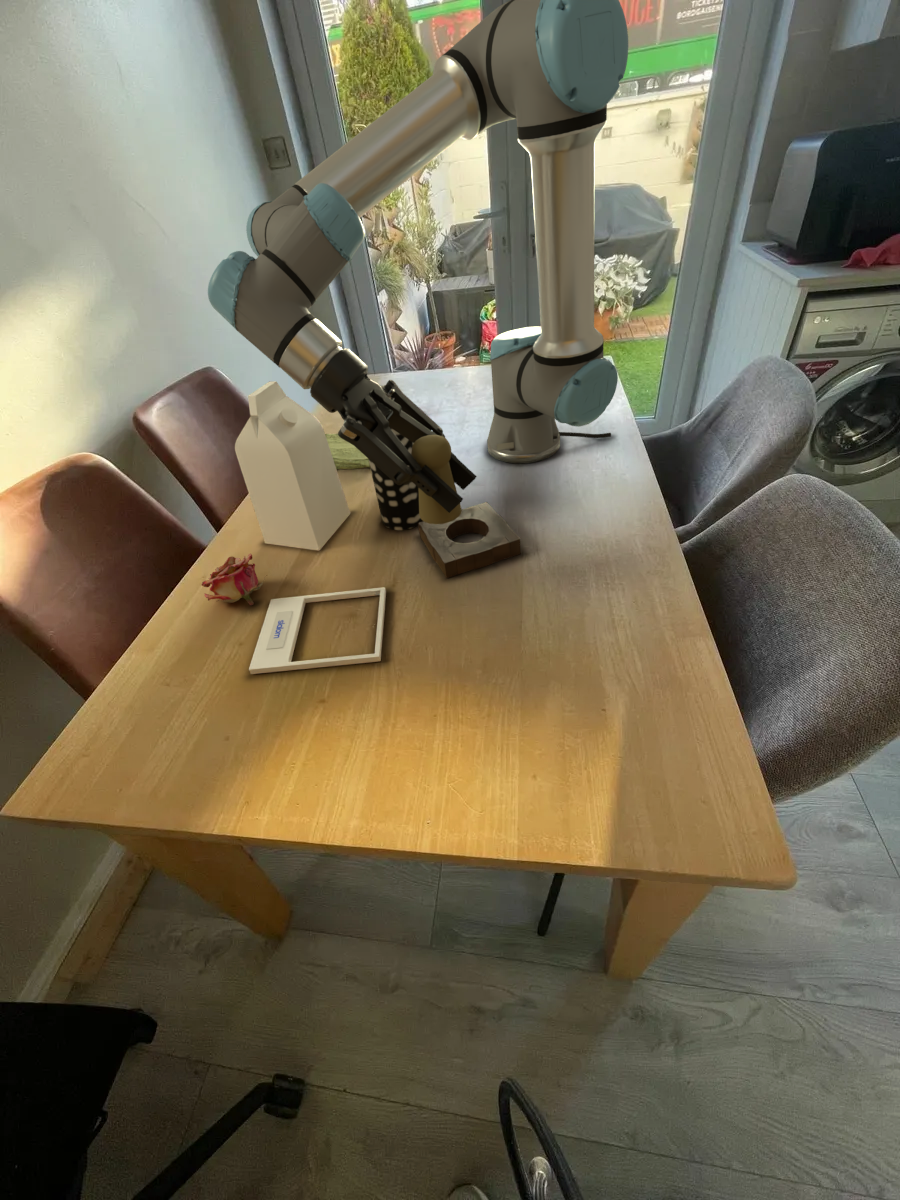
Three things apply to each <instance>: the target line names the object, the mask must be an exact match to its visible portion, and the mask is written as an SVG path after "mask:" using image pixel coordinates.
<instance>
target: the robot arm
mask: <svg viewBox="0 0 900 1200" xmlns="http://www.w3.org/2000/svg"><path fill="white" fill-rule="evenodd" d="M628 56H629V32H628V24H627V20H626V16H625V12H624V10H623V7H622V4H621V2H620V0H508V1H506V2H504V3H503V4H501V5H499V6H497V7H496V8H495V9H493V11H491V12H490V13H489V14H488V15H486V16H485V17H484V18H483V19H482V20H481V21H480V22H479V23H477V25H475V26H474V27H473V28H472V29H471V30H469V31H468V32H467V33H466V34H465V35H463V37H462V38H461V39H459V40H458V41H457V42H456V43H455V44H454V45H453V46H451V48H449V49H448V50H446V51H445V52H444V53H443V54H442V55H440V56H439V57H438V58H437V59H436V60H435V62H434V65H433V70H432V75H431V76H429V78H427V79H426V80H424V81H423V82H422V83H421V84H419V85H418V86H417V87H416V88H414V89H413V90H412V91H411V92H409V93H408V94H407V95H405V96H404V97H402V98H401V99H400V100H399V101H398V102H396V103H395V104H394V105H393V106H391V107H390V108H389V109H387V110H386V111H385V112H383V113H382V114H381V115H380V116H379V117H378V118H376V119H375V120H373V121H372V122H371V123H370V124H369V125H368V126H366V127H365V128H364V129H362V130H361V131H359V132H358V133H357V134H356V135H355V136H353V137H352V138H350V140H348V141H347V142H346V143H345V144H342V146H340V147H339V149H337V150H336V151H334V152H333V153H332V154H331V155H329V156H328V157H326V159H324V160H323V161H322V162H320V163H319V164H318V165H316V166H315V167H314V168H313V169H312V170H310V171H309V172H308V173H306V174H305V175H304V176H302V178H300V179H298V181H296V182H295V183H294V184H293V185H292V186H290V187H289V188H287V189H286V190H285V191H284V192H282V193H281V194H280V195H278V196H277V197H276V198H274V199H273V200H271V201H270V200H268V201H263V202H262V203H261V204H258V205H257V206H255V207H254V208H253V209H252V210H251V211H250V213H249V215H248V218H247V220H246V230H245V231H246V238H247V241H248V244H249V245H250V248H251V250H252V252H253V253H254V255H256V256H257V257H256V258H255V257H254V256H251V255H249V254H248V253H247V252H246V251H243V250H236V251H233V252H231V253H229V255H228V256H227V257H226V259H225V258H223V259H222V260H221V261H220V262H219V263H218V264H217V266H216V268H215V269H214V271H213V272H212V274H211V277H210V279H209V281H208V285H207V296H208V301H209V303H210V306H211V307H212V308H213V309H214V310H215V311H216V312H217V313H218V314H219V315H220V316H221V317H222V318H223V319H224V320H226V321H227V323H229V324H230V325H231V326H232V327H233V329H235V330H236V331H237V333H239V334H240V335H241V336H242V337H243V338H245V339H246V340H247V341H248V342H249V343H250V344H251V345H253V346H254V347H255V348H256V349H257V350H259V351H260V352H261V353H262V354H263V355H264V356H265V357H267V358H268V359H269V360H270V361H271V362H272V363H273V364H275V365H276V366H277V367H278V368H279V369H281V370H282V371H283V372H284V373H285V374H286V375H288V377H290V379H292V380H293V381H294V382H295V383H297V385H298V386H300V387H301V388H302V389H303V390H309V393H310V397H311V398H313V399H314V400H315V402H317V403H318V405H320V406H322V408H324V410H326V411H327V412H328V413H330V414H333V413H336V412H337V413H338V414H339V415H340V417H341V418H342V420H343V424H342V426H341V427H340V429H339V430H338V431H337V433H338V435H339V437H340V438H342V439H343V440H345V441H347V442H349V443H350V444H352V445H354V446H355V447H356V448H357V449H358V450H359V451H360V452H362V453H363V454H364V455H365V456H366V457H367V458H368V459H369V460H370V461H371V462H373V463H374V464H375V465H376V466H377V467H378V468H379V469H380V470H381V471H382V472H384V473H385V474H386V475H387V476H388V477H389V478H390V479H391V480H392V481H394V482H395V483H396V484H397V485H401V484H402V483H403V484H404V485H407V484H408V483H409V482H410V481H411V482H413V483H414V484H415V485H416V486H417V487H418V488H420V489H421V490H422V491H423V492H424V493H425V494H426V495H428V496H430V497H432V498H433V499H434V500H435V501H436V502H438V503H439V504H440V505H441V506H442V507H443V508H444V509H445V510H446V511H448V512H449V513H450V512H451V511H452V510H453V509H454V508H455V507H456V506H457V505H458V504H459V503H460V504H461V503H462V501H463V500H464V498H463V497H462V496H461V495H460V494H459V493H458V492H457V493H456V492H455V491H454V490H453V489H452V488H451V487H450V486H449V485H447V484H446V483H445V482H444V481H443V480H442V479H441V478H440V477H439V476H438V475H437V474H435V473H434V472H433V471H432V470H431V469H430V468H429V467H428V466H427V465H425V466H424V467H423V468H422V469H421V466H420V465H419V464H418V462H417V461H416V460H415V459H414V457H413V456H412V455H411V454H410V452H409V451H408V450H407V449H406V447H405V446H404V445H403V444H402V442H401V441H400V440H399V439H398V438H397V436H396V435H395V434H394V433H393V431H392V430H391V429H390V428H392V429H393V430H395V431H396V432H398V433H399V434H401V435H402V436H404V437H405V438H407V439H408V440H410V441H411V442H413V443H414V442H415V441H416V440H418V439H419V438H421V437H423V436H427V435H439V436H443V437H445V438H446V435H445V434H444V430H443V428H442V427H441V426H440V425H439V424H437V423H436V422H435V421H434V419H432V418H431V416H429V415H428V414H427V413H426V412H424V411H423V410H422V409H421V408H420V407H419V406H418V405H417V404H416V403H415V402H413V401H412V399H410V397H408V396H407V395H406V394H405V393H403V391H402V389H400V387H399V385H398V384H397V383H396V381H394V380H393V379H388V381H387V382H386V384H384V385H380V384H379V383H378V382H376V381H373V380H372V379H370V378H369V377H368V371H369V368H368V365H367V364H366V363H365V362H364V361H363V360H362V359H360V357H359V356H358V355H356V354H355V352H353V351H352V350H351V349H350V348H346V347H345V348H343V341H342V340H341V339H340V338H339V337H338V336H337V335H336V334H334V333H333V331H331V330H330V329H329V328H328V327H327V326H325V325H324V324H323V322H321V321H320V320H319V319H318V318H316V316H315V315H314V314H312V313H311V311H310V309H311V307H312V306H314V305H315V303H316V302H317V300H318V299H319V298H320V297H321V295H322V294H323V293H324V292H325V291H326V289H327V288H328V287H329V286H330V285H331V283H332V282H333V281H335V279H336V277H337V276H338V275H339V274H340V272H341V271H342V270H343V269H344V268H345V266H346V265H347V264H348V263H349V262H351V261H352V260H353V257H354V255H355V254H356V252H357V251H358V250H359V248H360V247H361V245H362V244H363V242H364V240H365V236H366V231H365V227H364V225H363V222H362V220H361V218H362V217H364V215H365V214H367V213H368V212H369V211H371V210H372V209H373V208H375V207H376V206H377V205H378V204H379V203H381V202H382V201H383V200H384V199H386V198H387V197H388V196H389V195H390V194H392V193H393V192H394V191H395V190H397V189H398V188H400V187H401V186H402V185H403V184H404V183H406V182H407V181H408V180H409V179H411V178H412V177H413V176H414V175H416V174H417V173H418V172H420V171H421V170H422V169H423V168H425V167H426V166H427V165H428V164H430V163H431V162H432V161H433V160H435V159H437V157H438V156H440V155H441V154H442V153H443V152H445V151H446V150H448V148H450V147H451V146H452V145H454V144H455V143H456V142H457V141H458V140H460V139H462V140H465V141H470V140H473V139H474V138H476V137H477V136H479V134H481V133H482V132H483V131H485V130H486V129H488V128H490V127H493V126H494V125H497V124H501V123H503V122H509V121H513V120H516V130H517V131H516V132H517V142H518V143H519V144H520V145H521V146H522V148H523V149H525V151H526V152H528V154H529V158H530V169H531V170H530V171H531V186H532V187H531V188H532V203H533V220H534V234H535V235H534V236H535V239H534V240H535V255H536V270H537V272H536V273H537V285H538V286H537V288H538V289H537V290H538V304H539V321H540V326H539V325H538V326H537V325H536V326H526V327H521V328H516V329H512V330H507V331H505V332H502V333H500V334H498V335H496V336H495V337H494V338H492V341H491V343H490V355H489V361H490V365H491V367H490V369H491V384H492V399H493V400H492V401H493V416H492V421H491V424H490V428H489V431H488V432H489V433H488V436H487V440H486V445H487V451H488V454H489V455H490V456H491V457H492V458H493V459H496V460H498V461H501V462H503V463H509V464H530V463H535V462H539V461H543V460H546V459H548V458H550V457H552V456H553V455H555V454H556V453H557V452H558V451H559V449H560V447H561V437H574V438H586V439H587V438H588V439H604V438H610V437H612V433H611V432H604V433H586V432H570V431H568V432H567V431H559V428H558V425H557V422H558V423H560V424H566V425H569V426H572V427H576V428H577V427H584V426H587V425H589V424H592V423H593V422H594V421H596V420H597V419H598V418H600V417H601V416H602V414H603V413H604V412H605V411H606V409H607V407H608V406H609V405H610V404H611V402H612V400H613V398H614V396H615V393H616V390H617V386H618V382H619V381H618V379H619V377H618V375H619V374H618V370H617V367H616V365H614V364H613V362H612V361H611V360H610V359H607V358H605V357H604V349H605V348H604V335H603V334H602V333H601V331H599V330H598V329H597V328H596V327H595V203H596V202H595V196H596V195H595V193H596V192H595V181H596V179H595V177H596V176H595V173H596V170H595V166H596V165H595V164H596V163H595V161H596V159H595V158H596V157H595V156H596V153H595V151H596V150H595V149H596V147H595V146H596V144H595V143H596V140H597V138H598V136H599V135H600V133H601V132H602V131H603V129H604V128H605V127H606V125H607V124H608V123H607V119H608V104H609V103H610V102H611V101H612V99H614V97H615V96H616V94H617V93H618V90H619V89H620V82H621V80H623V79H624V77H625V74H626V70H627V64H628V59H629V57H628ZM391 410H392V411H391ZM407 465H408V466H409V467H408V466H407ZM449 465H450V469H451V472H452V476H453V480H454V483H455V485H457V486H458V487H459V489H461V490H462V491H464V490H466V488H468V486H469V485H471V483H473V482H474V481H475V480H476V478H477V475H476V474H475V473H474V472H473V471H472V470H471V469H469V468H468V466H466V465H465V464H464V463H463V462H462V461H461V460H460V459H459V458H458V457H457V456H456V455H455V454H454V452H452V451H451V458H450V460H449ZM397 472H399V473H397Z"/></svg>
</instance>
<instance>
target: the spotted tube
mask: <svg viewBox="0 0 900 1200" xmlns="http://www.w3.org/2000/svg"><path fill="white" fill-rule="evenodd" d="M391 411H392V410H391ZM390 429H391V430H392V431H393V433H394V434H395V435H396V436H397V438H398V439H399V440H400V441H401V442H402V444H403V445H404V446H405V447H406V449H407V450H408V451H409V452H410V454H411V452H412V446H413V444H414V443H413V442H411V441H410V440H408V439H407V438H405V437H404V436H402V435H401V434H399V433H398V432H396V431H395V430H393V429H392V428H390ZM411 455H412V454H411ZM368 460H369V459H368ZM369 464H370V468H369V469H370V473H371V477H372V482H373V486H374V491H375V495H376V500H377V504H378V508H379V512H380V517H381V522H382V524H383V526H385V527H386V528H388V529H390V530H394V531H405V530H410V529H413V528H416V527H418V523H419V522H422V521H423V520H422V519H421V518H420V516H419V488H418V487H417V486H416V485H415V484H414V483H413V482H411V481H410V482H409V483H408V484H407V485H404V484H403V483H402V484H401V485H397V484H396V483H395V482H394V481H392V480H391V479H390V478H389V477H388V476H387V475H386V474H385V473H384V472H382V471H381V470H380V469H379V468H378V467H377V466H376V465H375V464H374V463H373V462H371V461H370V460H369ZM407 466H408V465H407ZM408 467H409V466H408ZM397 473H399V472H397Z"/></svg>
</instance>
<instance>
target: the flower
mask: <svg viewBox="0 0 900 1200" xmlns="http://www.w3.org/2000/svg"><path fill="white" fill-rule="evenodd" d="M252 560H253V554H252V553H248V554H247V556H245V555H244V556H243V558H242V559H241V558H240V557H235V556H229V557H228V558H227V559H226V561H224V563H223V564H222V565H221V566H219V567H216V568H215V569H214V571H213V572H211V573H209V576H210V577H209V578H208V579H206V580H204V581H202V583H201V586H202V587H204V588H209V592H212V593H213V594H208V593H203V594H204V597H205V598H206V599H207V601H209V602H210V601H211V600H217V602H220V601H221V602H224V603H232V604H233V603H236V602H237V601H239V600H240V599H241V598H242V599H244V600H245V601H246V602H247V603H248V604H249V606H250V607H251V606H253V605H254V604H255V602H254V601H253V599H252V597H251V596H250V595H251V594H252V593H253V592H254V591H258V590H259V591H260V590H261V587H262V586H263V584H264V581H265V580H266V577H267V576H268V574H266V575H265V576H264V578H263V580H262V582H261V583H260V584H259V578H258V576H257V573H256V569H255V568H256V563H253V562H252V563H249V562H250V561H252Z"/></svg>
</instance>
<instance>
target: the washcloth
mask: <svg viewBox="0 0 900 1200" xmlns="http://www.w3.org/2000/svg"><path fill="white" fill-rule="evenodd" d="M325 435H326V439H327V442H328V445H329V448H330V451H331V454H332V457H333V460H334V463H335V466H336V470H348V469H349V470H352V469H366V468H367V469H368V468H369V469H370V464H369V460H368V458H367V457H366V456H365V455H364V454H363V453H362V452H360V451H359V450H358V449H357V448H356V447H355V446H354V445H352V444H350V443H349V442H347V441H345V440H343V439H342V438H340V437H339V435H338V432H336V433H325Z"/></svg>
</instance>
